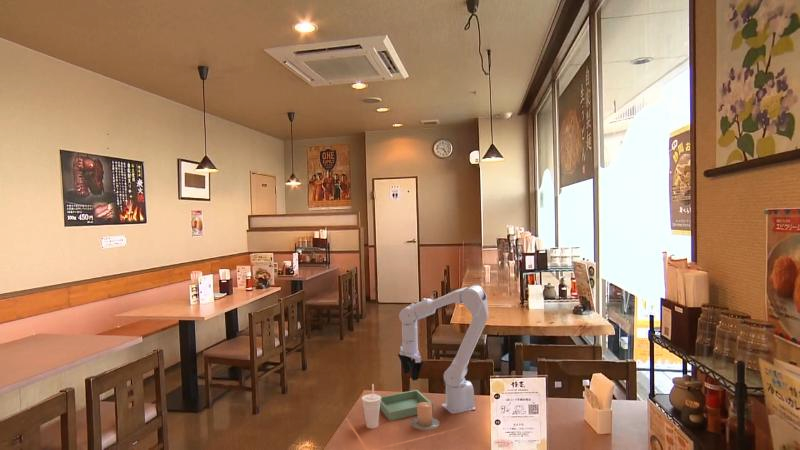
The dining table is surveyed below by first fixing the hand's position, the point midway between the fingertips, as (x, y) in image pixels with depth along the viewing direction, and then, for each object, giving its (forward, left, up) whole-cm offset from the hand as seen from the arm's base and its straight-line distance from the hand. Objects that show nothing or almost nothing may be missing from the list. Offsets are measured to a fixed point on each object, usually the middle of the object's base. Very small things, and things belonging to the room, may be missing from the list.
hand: (410, 376), depth 159 cm
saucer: (+3, +18, -9) cm, 21 cm away
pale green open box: (+5, +5, -9) cm, 12 cm away
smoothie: (+19, +12, -10) cm, 25 cm away
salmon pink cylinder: (+3, +18, -9) cm, 20 cm away
